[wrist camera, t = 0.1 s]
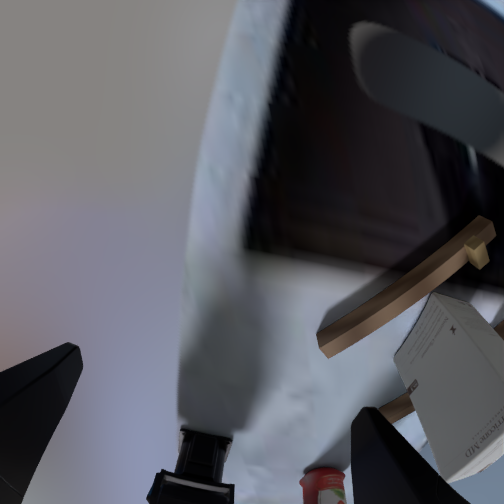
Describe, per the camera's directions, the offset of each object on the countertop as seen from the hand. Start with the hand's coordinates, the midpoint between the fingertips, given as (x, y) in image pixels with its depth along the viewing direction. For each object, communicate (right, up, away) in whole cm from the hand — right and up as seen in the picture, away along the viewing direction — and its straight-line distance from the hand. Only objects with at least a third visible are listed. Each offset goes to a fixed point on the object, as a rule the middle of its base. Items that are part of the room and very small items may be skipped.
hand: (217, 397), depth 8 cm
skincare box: (+18, -4, +16) cm, 25 cm away
